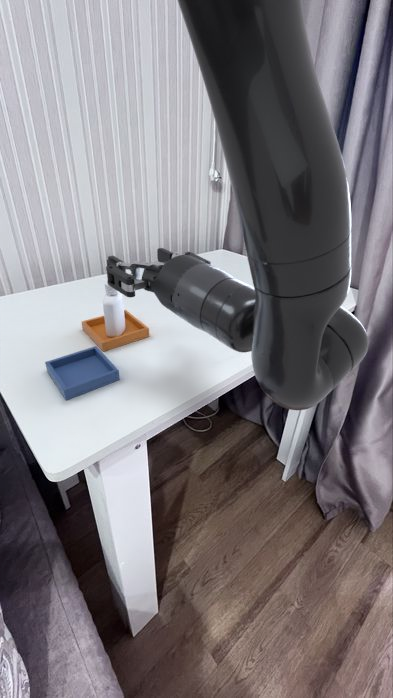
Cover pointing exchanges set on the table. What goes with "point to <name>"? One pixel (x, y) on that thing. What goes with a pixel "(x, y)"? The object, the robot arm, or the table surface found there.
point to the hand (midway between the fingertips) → (135, 258)
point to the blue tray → (82, 372)
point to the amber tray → (98, 335)
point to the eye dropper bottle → (113, 312)
